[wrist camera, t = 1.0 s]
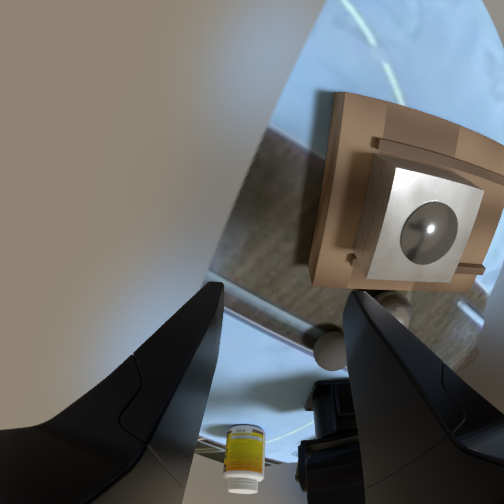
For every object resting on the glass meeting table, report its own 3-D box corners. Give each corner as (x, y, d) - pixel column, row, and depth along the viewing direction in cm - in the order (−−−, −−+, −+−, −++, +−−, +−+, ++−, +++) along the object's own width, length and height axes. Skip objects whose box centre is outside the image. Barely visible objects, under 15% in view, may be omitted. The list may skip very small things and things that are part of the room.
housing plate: (455, 274, 20) (471, 296, 18) (307, 265, 20) (313, 292, 18) (497, 143, 14) (522, 155, 12) (334, 91, 14) (348, 92, 12)
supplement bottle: (222, 423, 35) (215, 487, 26) (261, 422, 34) (259, 488, 26) (233, 437, 38) (228, 494, 29) (268, 436, 37) (267, 494, 28)
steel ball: (393, 317, 23) (407, 350, 20) (353, 317, 23) (364, 352, 20) (409, 281, 21) (427, 314, 18) (367, 279, 21) (382, 314, 18)
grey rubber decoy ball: (343, 348, 25) (349, 377, 22) (307, 348, 25) (311, 378, 22) (354, 323, 23) (362, 353, 20) (315, 322, 23) (321, 354, 20)
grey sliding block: (429, 256, 17) (451, 284, 14) (352, 249, 17) (367, 280, 14) (456, 173, 14) (485, 191, 11) (373, 153, 14) (397, 168, 11)
